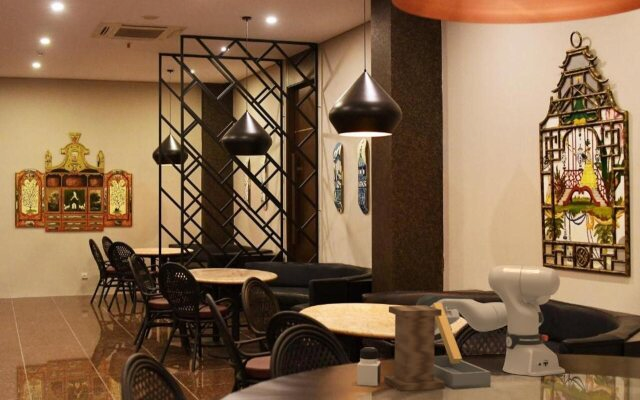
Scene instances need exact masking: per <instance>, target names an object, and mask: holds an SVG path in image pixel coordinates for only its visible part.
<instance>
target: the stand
mask: <svg viewBox="0 0 640 400" xmlns="http://www.w3.org/2000/svg"><path fill="white" fill-rule="evenodd" d="M441 312H442V310H441V309H437V308H434V307H430V306H427V305H419V306H416V305H392V306H391V305H390V306H388V313H390V314H393V315H395V316H394V319H395V320H394V322H395V324H394V375H384V377H383V378H384V379H383V382H384V383H385V382H386V383H385V384H387V385H389V386H391V387H392V386H393V387H392V388H394V387H395V388H394V389H396V388H397V389H396V390H398V391H399V390H400V391H399V392H407V391H408V392H409V391H422V390H423V391H424V390H438V389H440V390H441V389H446V388H445V387H446V386H445V382H443V381H441V380H439V379H437V378H435V377H434V356H435V344H434V333H435V316H441Z"/></svg>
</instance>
